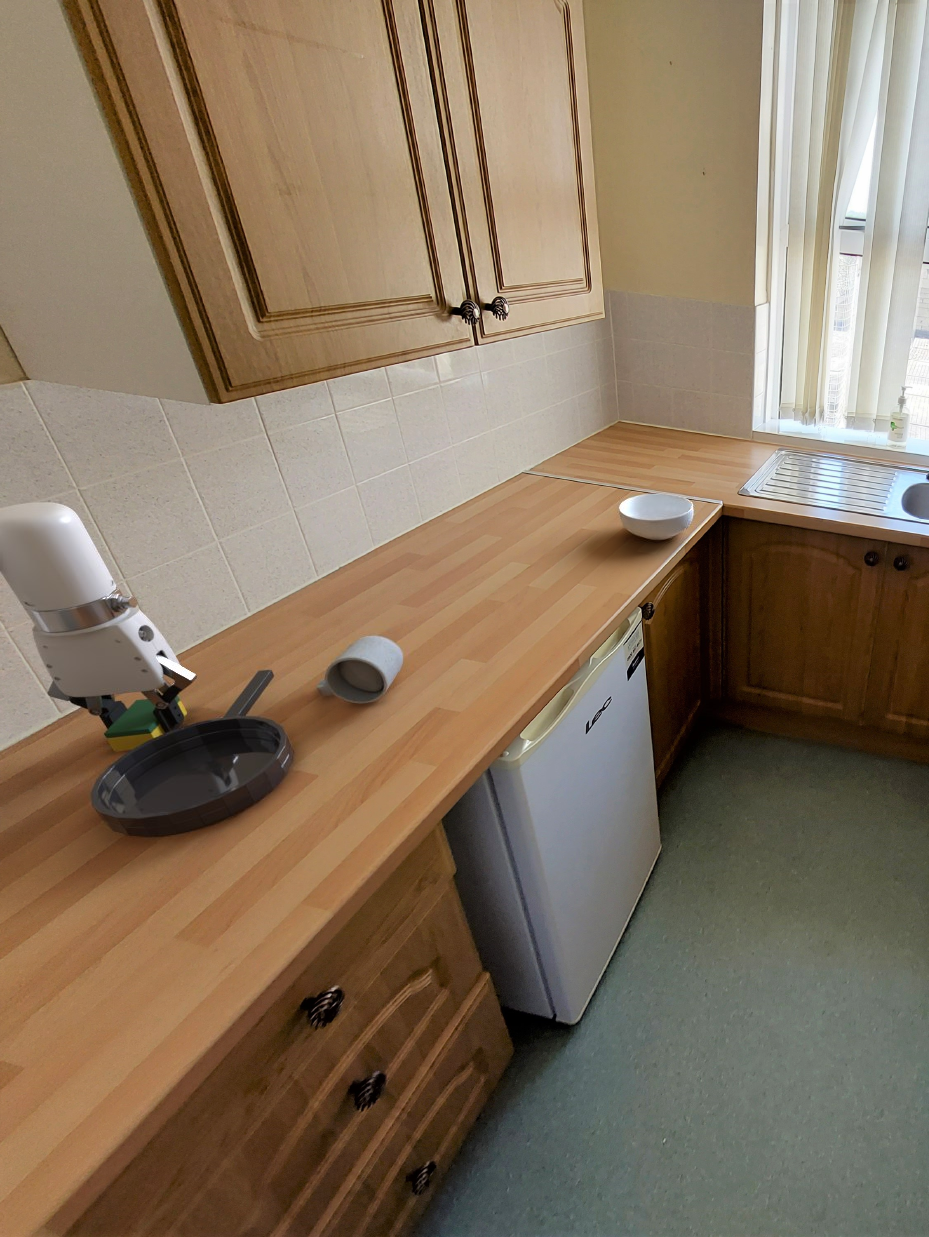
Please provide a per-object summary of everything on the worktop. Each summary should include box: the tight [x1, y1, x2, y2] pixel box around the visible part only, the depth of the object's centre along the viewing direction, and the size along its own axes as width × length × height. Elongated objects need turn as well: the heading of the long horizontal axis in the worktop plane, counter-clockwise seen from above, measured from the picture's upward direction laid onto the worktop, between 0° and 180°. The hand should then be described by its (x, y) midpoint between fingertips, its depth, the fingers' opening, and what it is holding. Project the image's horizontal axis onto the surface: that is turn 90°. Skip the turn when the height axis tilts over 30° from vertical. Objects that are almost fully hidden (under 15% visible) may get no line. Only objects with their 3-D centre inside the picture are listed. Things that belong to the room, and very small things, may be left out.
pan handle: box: [222, 669, 275, 717], centre depth 88 cm, size 2×11×1 cm, turn 17°
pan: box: [89, 715, 295, 838], centre depth 77 cm, size 17×17×4 cm
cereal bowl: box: [618, 493, 694, 541], centre depth 150 cm, size 17×17×7 cm
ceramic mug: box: [316, 634, 404, 705], centre depth 93 cm, size 11×8×8 cm
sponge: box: [103, 695, 188, 752], centre depth 84 cm, size 4×7×3 cm, turn 17°
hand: (150, 728), depth 84 cm, fingers closed on sponge, 4 cm apart
